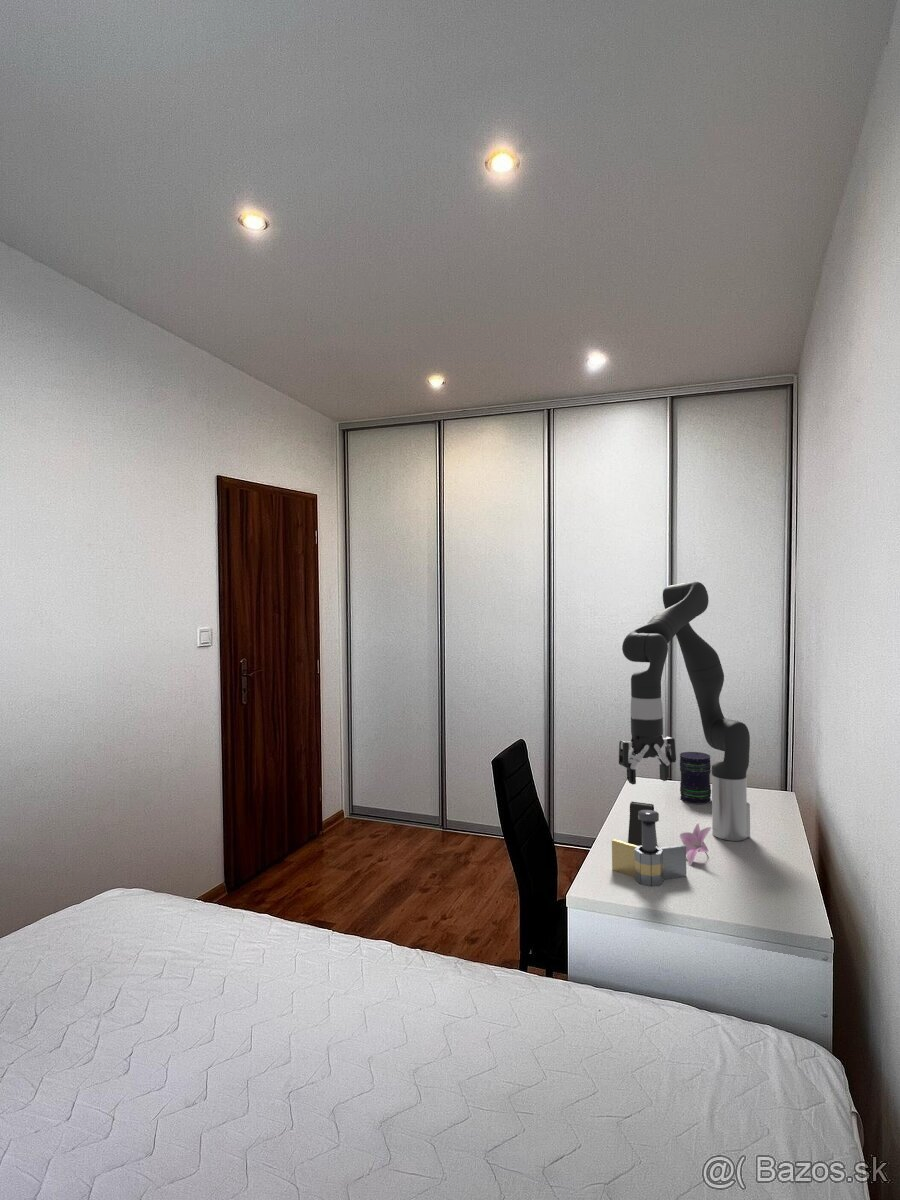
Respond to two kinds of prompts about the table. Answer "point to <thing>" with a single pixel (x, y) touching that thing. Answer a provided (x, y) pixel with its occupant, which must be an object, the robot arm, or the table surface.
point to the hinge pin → (648, 830)
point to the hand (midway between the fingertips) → (647, 781)
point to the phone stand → (637, 822)
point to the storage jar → (695, 777)
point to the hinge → (649, 862)
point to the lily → (695, 842)
